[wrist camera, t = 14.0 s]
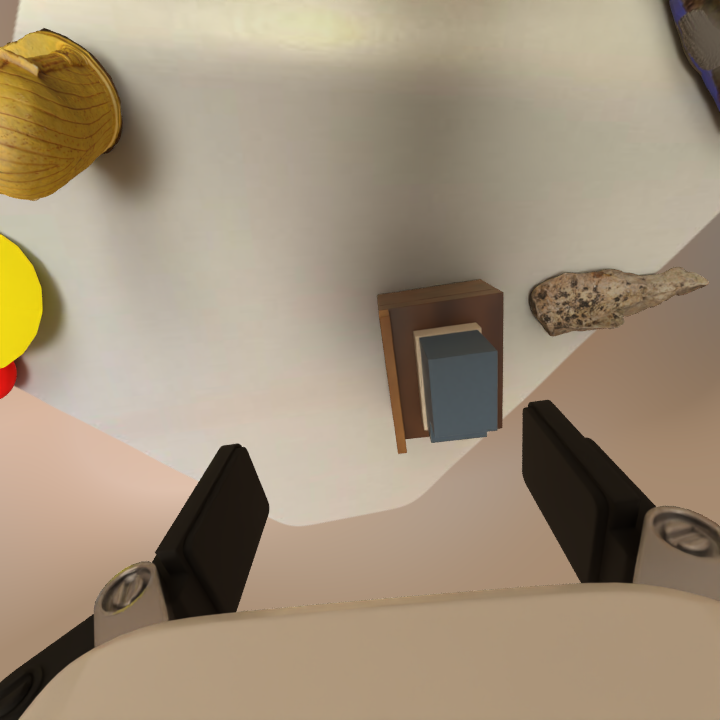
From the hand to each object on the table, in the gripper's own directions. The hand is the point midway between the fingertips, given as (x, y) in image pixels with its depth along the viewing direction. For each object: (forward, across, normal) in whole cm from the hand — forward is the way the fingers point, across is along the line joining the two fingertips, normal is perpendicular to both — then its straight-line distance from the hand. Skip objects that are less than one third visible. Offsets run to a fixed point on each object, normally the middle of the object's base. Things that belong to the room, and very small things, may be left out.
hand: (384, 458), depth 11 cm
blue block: (+18, -5, +7) cm, 20 cm away
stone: (+20, -22, +5) cm, 30 cm away
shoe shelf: (+24, -5, +7) cm, 25 cm away
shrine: (+24, +20, -17) cm, 36 cm away
